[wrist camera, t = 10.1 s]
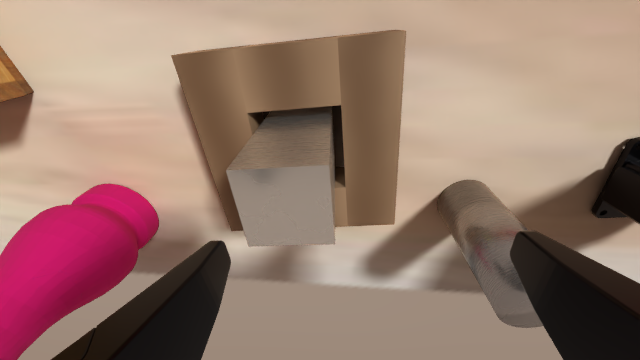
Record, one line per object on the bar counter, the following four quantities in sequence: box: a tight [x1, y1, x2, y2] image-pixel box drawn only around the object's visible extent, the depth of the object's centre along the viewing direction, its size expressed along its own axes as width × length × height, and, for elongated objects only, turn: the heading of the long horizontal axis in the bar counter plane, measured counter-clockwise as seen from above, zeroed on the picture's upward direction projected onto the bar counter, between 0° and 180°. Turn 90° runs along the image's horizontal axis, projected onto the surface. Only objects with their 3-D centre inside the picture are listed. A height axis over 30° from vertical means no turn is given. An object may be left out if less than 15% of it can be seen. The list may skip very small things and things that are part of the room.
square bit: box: [226, 106, 335, 247], centre depth 15 cm, size 4×4×9 cm
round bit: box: [437, 180, 543, 328], centre depth 17 cm, size 4×4×9 cm
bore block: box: [171, 30, 406, 231], centre depth 17 cm, size 12×12×3 cm
